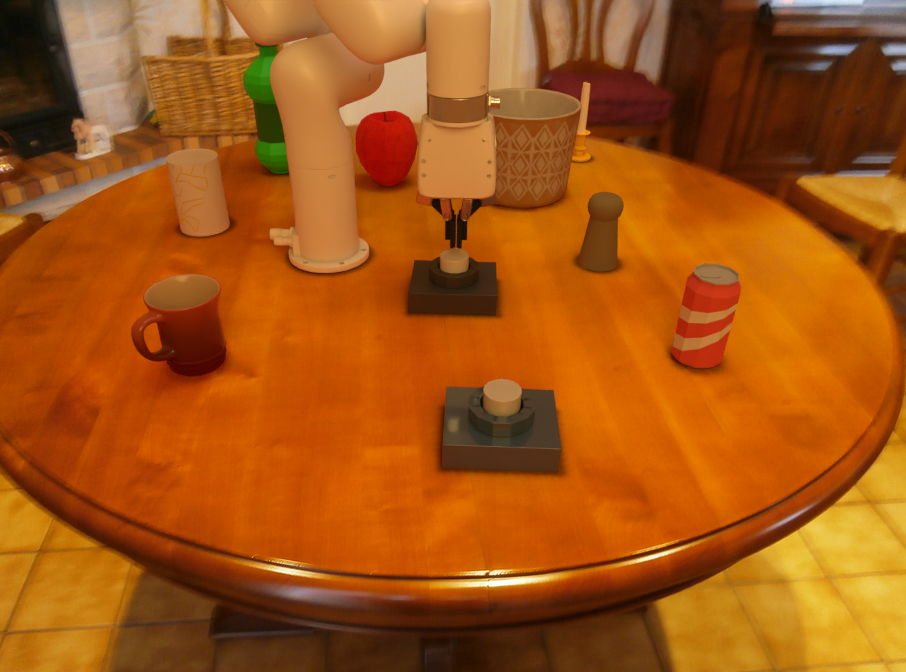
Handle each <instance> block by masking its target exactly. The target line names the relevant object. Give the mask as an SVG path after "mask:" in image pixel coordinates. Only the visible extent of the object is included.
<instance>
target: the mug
mask: <svg viewBox="0 0 906 672" xmlns="http://www.w3.org/2000/svg"><path fill="white" fill-rule="evenodd" d="M221 293H222V285H221V283H220V281H218V280H217V279H216V278H214V277H212V276H210V275H206V274H200V273H183V274H178V275H173V276H168V277H165V278H162V279H159V280H158V281H156V282H154V283H153V284H151V285H150V286H148V287H147V288H146V289H145V291H144V293H143V294H142V295H143V297H142V299H143V303H144V305H145V307H146V308H147V310H148V311H147V312H146V313H144V314H143V315H141V316H140V317H139V318H137V319H135V321H134V322H133V324H132V326H131V330H130V335H131V340H132V343H133V345H134V348H135V350H136V351H137V352H138V353H139V355H141V357H143V358H144V359H145V360H147V361H151V362H157V363H158V362H165V363H166V364H167V366H168V368H169V369H170V370H171V371H172V372H173V373H175V374H176V375H178V376H179V375H180V376H183V377H187V378H188V377H189V378H190V377H191V378H193V377H194V378H195V377H202V376H207V375H209V374H211V373H213V372H215V371H217V370H218V369H219V368H220V367H221V366H222V365H224V363H225V362H226V360H227V352H228V348H227V339H226V336H225V331H224V326H223V322H222V319H221V314H220V313H221V312H220V299H221ZM155 323H156V326H157V329H158V336H159V339H160V344H161V348H159V349H158V350H157V351H154V352H152V351H150V349H149V347H148V346H147V343H146V340H145V337H144V336H145V335H144V334H145V330H146V328H147V327H148V326H150V325H151V324H155Z"/></svg>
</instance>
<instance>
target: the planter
mask: <svg viewBox="0 0 906 672" xmlns="http://www.w3.org/2000/svg"><path fill="white" fill-rule="evenodd" d="M488 94H491V96H494V97H500V109H494V110H490V112H488V114H491V115H493V118H494V123H495V131H496V186H495V189H496V194H497V203H496V204H495V205H497V206H500V207H505V208H512V209H513V208H514V209H534V208H540V207H541V208H542V207H545V206H549V205H551V204H554V203H555V202H557V201H559V200H560V199H562V198H563V196H564V195H565V193H566V191H567V189H568V183H569V178H570V172H571V168H572V167H571V166H572V162H573V161H572V157H573V151H574V146H575V141H576V135H577V130H578V124H579V119H580V114H581V108H582V104H581V103H580V102H581V100H579V99H578V98H576V97H575V96H572V95H570V94H567V93H564V92H561V91H556V90H551V89H544V88H534V87H506V88H498V89H497V88H496V89H492V90H491V89H490V90H488Z"/></svg>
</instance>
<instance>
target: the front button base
mask: <svg viewBox="0 0 906 672" xmlns="http://www.w3.org/2000/svg"><path fill="white" fill-rule="evenodd" d="M484 386H485V385H482V386H478V387H476V386H472V387H471V386H446V389H445V404H444V417H443V418H444V419H443V432H442V453H441V454H442V455H441V456H442V460H441V462H442V464H441V465H442V466H441V467H442V468H443V469H465V470H466V469H467V470H493V471H495V470H496V471H517V472H519V471H520V472H545V473H547V472H549V473H559V471H560V465H561V464H560V463H561V457H562V456H561V455H562V442H561V434H560V425H559V420H558V412H557V403H556V395H555V390H554V389H533V388H522V387H521V389H522V397H521V408H520V410H519V412H518V413H516V414H514V415H511V416H495V415H492V414H490V413H487V412H486V411H485V410H484V408H483V388H484Z"/></svg>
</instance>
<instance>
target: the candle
mask: <svg viewBox="0 0 906 672" xmlns="http://www.w3.org/2000/svg"><path fill="white" fill-rule="evenodd" d="M581 87H582V88H581V94H580V103H581V104H582V108H581V114H580V119H579V124H578V130H577V135H576V141H575V146H574V151H573V157H572V162H573V163H574V162H575V163H586V162H588V161H590V160H591V158H592V155H591V154H590V153H588V152H585V151H586V150H587V149H588V145H586V141H587V139H586V137H587V136H589V135H590V134H591V131H590V130H588V129H587V121H588V114H589V113H588V111H589V103H590V96H591V95H590V94H591V83H590V82H587V81H583V83H582V86H581Z"/></svg>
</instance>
